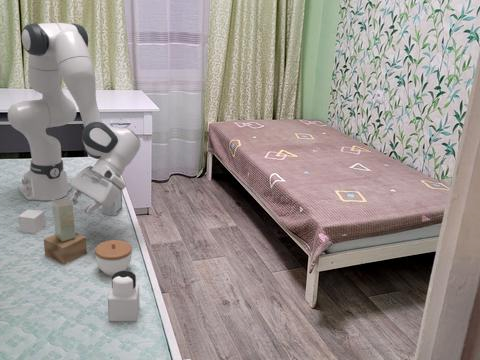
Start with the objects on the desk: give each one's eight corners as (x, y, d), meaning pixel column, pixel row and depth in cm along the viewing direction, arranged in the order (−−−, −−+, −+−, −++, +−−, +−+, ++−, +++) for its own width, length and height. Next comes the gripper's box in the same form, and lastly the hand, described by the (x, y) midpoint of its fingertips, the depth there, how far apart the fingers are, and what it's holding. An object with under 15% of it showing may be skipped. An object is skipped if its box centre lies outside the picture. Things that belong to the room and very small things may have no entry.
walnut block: (45, 256, 156) (43, 239, 154) (67, 245, 163) (66, 229, 161) (64, 265, 152) (63, 248, 150) (86, 253, 159) (86, 237, 157)
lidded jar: (100, 283, 144) (99, 254, 140) (92, 265, 152) (91, 238, 149) (136, 275, 148) (136, 248, 145) (126, 259, 157) (126, 232, 154)
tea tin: (54, 237, 155) (51, 200, 152) (69, 233, 159) (66, 197, 155) (61, 242, 152) (58, 205, 148) (76, 237, 155) (73, 201, 152)
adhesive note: (35, 234, 168) (34, 218, 166) (19, 232, 169) (18, 216, 167) (45, 226, 174) (43, 211, 172) (29, 224, 175) (27, 209, 173)
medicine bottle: (113, 305, 134) (111, 267, 130) (139, 305, 135) (139, 267, 130) (108, 321, 127) (107, 282, 123) (136, 322, 128) (136, 282, 124)
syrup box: (116, 216, 186) (115, 180, 180) (101, 213, 187) (100, 178, 181) (122, 210, 191) (121, 175, 186) (108, 208, 192) (107, 173, 187)
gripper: (82, 159, 164) (56, 193, 160) (116, 177, 151) (89, 214, 148) (94, 169, 168) (69, 202, 165) (129, 187, 156) (103, 223, 152)
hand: (79, 208), depth 156 cm, fingers open, 8 cm apart
